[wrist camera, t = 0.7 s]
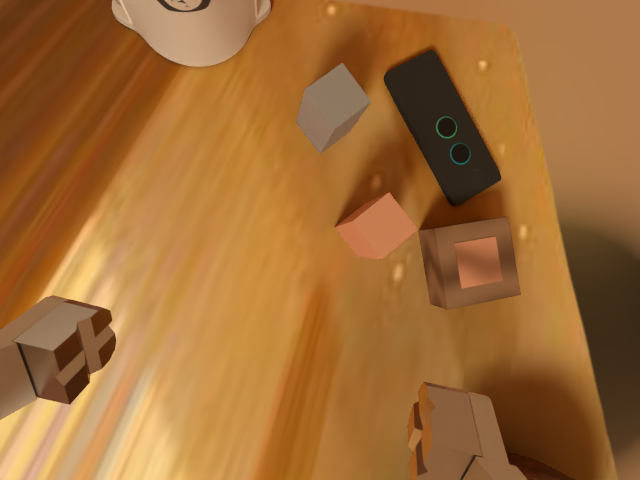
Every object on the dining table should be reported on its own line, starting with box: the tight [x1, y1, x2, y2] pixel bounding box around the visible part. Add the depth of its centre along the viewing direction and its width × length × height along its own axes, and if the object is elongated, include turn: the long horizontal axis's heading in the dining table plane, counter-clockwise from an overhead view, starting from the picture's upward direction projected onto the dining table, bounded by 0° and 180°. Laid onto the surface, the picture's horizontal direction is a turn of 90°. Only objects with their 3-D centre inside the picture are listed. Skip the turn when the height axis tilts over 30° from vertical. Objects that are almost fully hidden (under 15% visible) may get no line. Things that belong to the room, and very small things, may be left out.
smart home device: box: [384, 50, 501, 206], centre depth 50 cm, size 8×2×20 cm
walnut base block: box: [418, 217, 521, 310], centre depth 48 cm, size 10×10×5 cm
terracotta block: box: [335, 192, 417, 259], centre depth 44 cm, size 5×5×10 cm
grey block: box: [296, 63, 371, 154], centre depth 43 cm, size 5×5×10 cm
